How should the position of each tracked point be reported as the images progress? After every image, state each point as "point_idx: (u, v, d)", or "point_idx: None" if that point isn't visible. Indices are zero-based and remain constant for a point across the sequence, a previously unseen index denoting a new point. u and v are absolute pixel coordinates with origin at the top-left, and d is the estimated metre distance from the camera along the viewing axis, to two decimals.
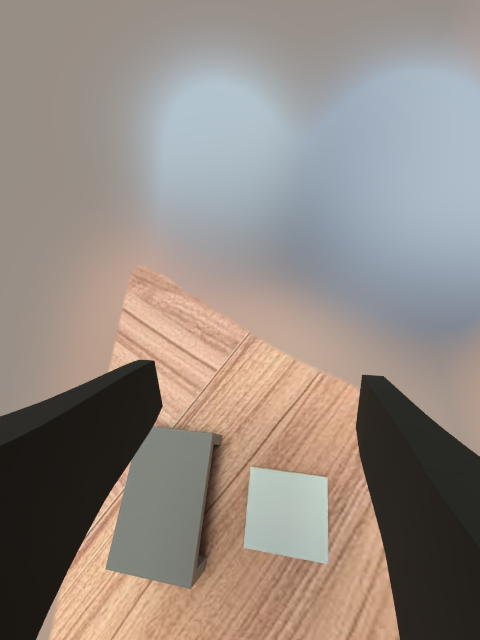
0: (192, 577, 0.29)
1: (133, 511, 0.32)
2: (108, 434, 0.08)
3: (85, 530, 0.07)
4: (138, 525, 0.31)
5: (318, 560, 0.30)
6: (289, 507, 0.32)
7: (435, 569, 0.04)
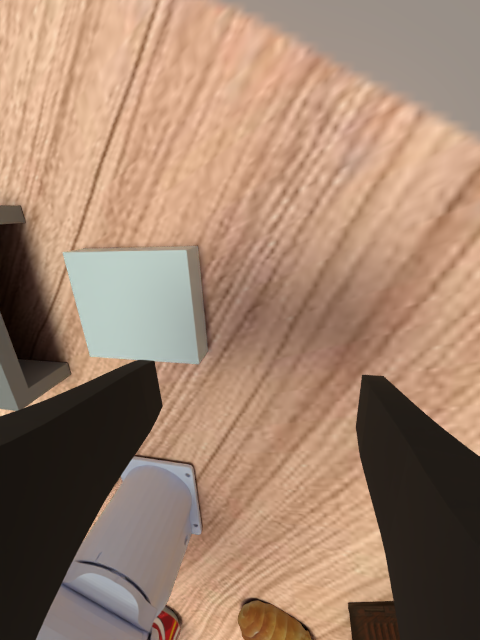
0: (17, 400, 0.21)
1: None
2: (108, 434, 0.08)
3: (85, 530, 0.07)
4: None
5: (185, 361, 0.20)
6: (135, 303, 0.20)
7: (435, 569, 0.04)
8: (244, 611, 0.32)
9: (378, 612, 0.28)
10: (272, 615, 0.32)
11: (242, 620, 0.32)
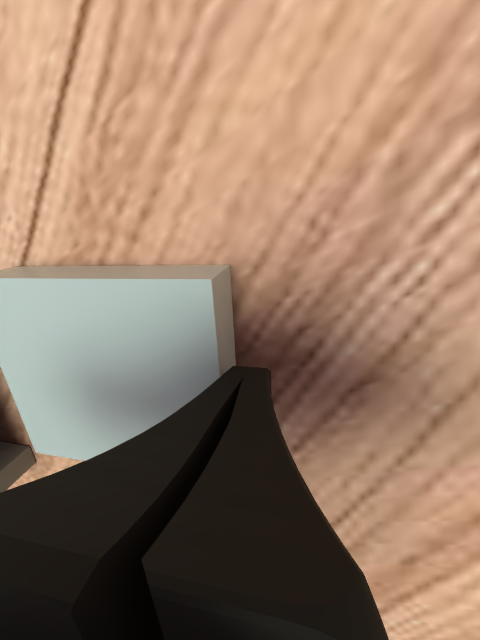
0: None
1: None
2: None
3: None
4: None
5: None
6: (107, 376, 0.10)
7: None
8: None
9: None
10: None
11: None
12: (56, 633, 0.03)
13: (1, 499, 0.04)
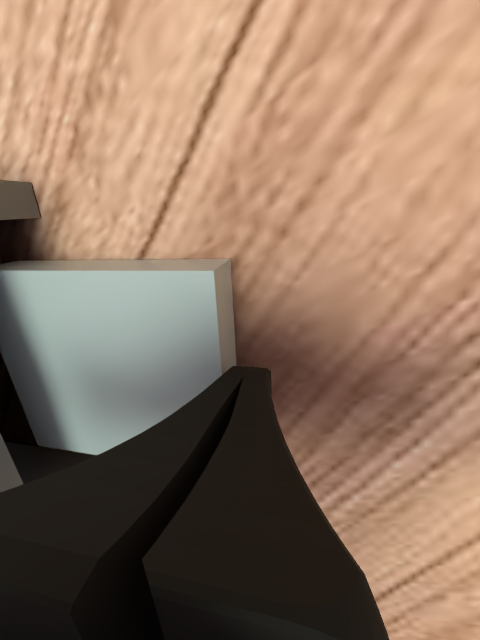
0: None
1: None
2: None
3: None
4: None
5: None
6: (109, 368, 0.10)
7: None
8: None
9: None
10: None
11: None
12: (55, 633, 0.03)
13: (1, 499, 0.04)
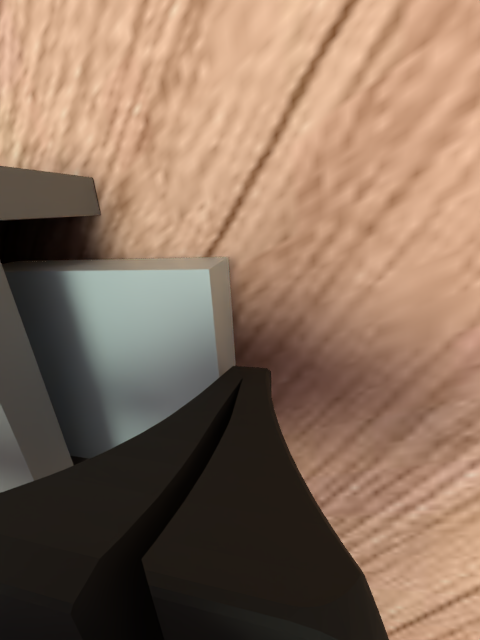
0: None
1: None
2: None
3: None
4: None
5: None
6: (105, 370, 0.10)
7: None
8: None
9: None
10: None
11: None
12: (55, 633, 0.03)
13: (0, 499, 0.04)
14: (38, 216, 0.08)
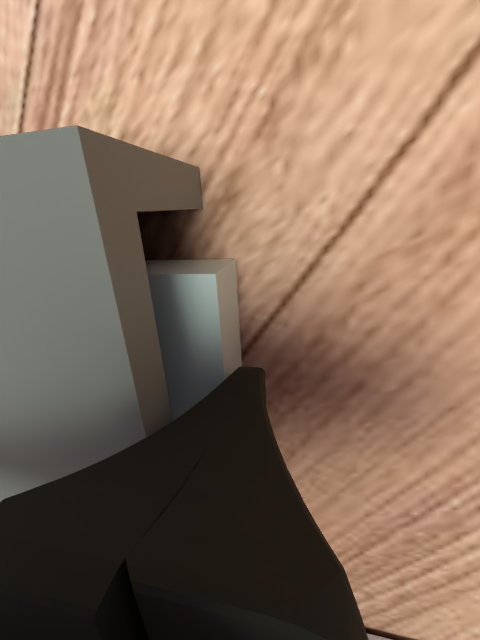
0: None
1: None
2: None
3: None
4: None
5: None
6: None
7: None
8: None
9: None
10: None
11: None
12: (77, 639, 0.03)
13: (15, 501, 0.04)
14: (168, 208, 0.07)
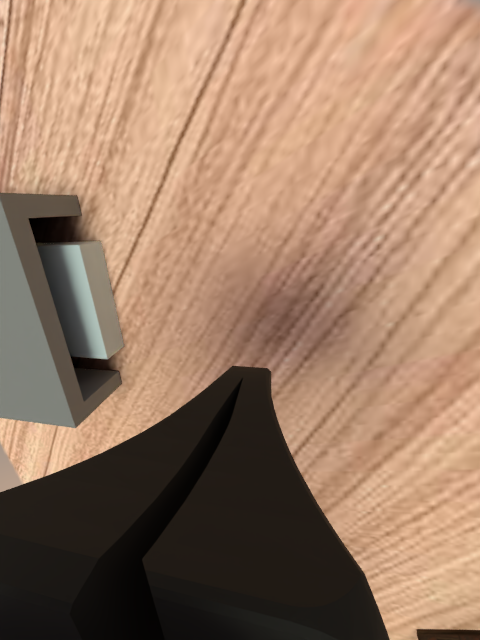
0: (74, 416, 0.19)
1: None
2: None
3: None
4: None
5: (95, 356, 0.21)
6: None
7: None
8: None
9: None
10: None
11: None
12: (55, 633, 0.03)
13: (0, 500, 0.04)
14: (49, 216, 0.17)
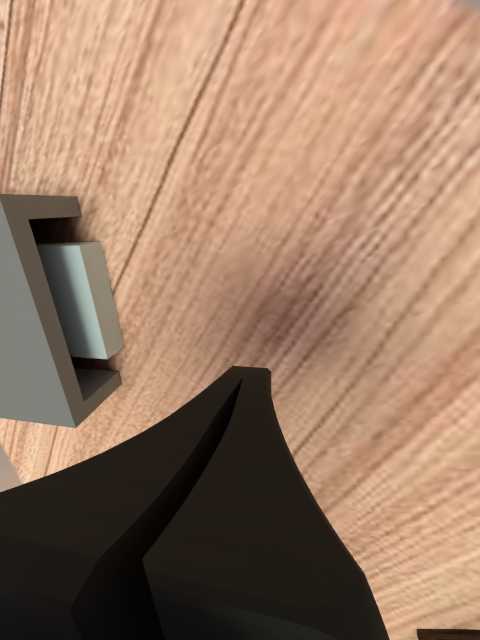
0: (74, 416, 0.19)
1: None
2: None
3: None
4: None
5: (95, 356, 0.21)
6: None
7: None
8: None
9: None
10: None
11: None
12: (55, 633, 0.03)
13: (1, 499, 0.04)
14: (49, 217, 0.17)
